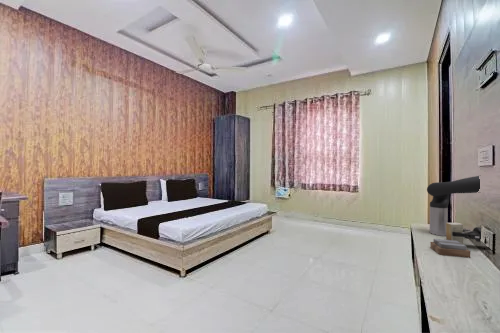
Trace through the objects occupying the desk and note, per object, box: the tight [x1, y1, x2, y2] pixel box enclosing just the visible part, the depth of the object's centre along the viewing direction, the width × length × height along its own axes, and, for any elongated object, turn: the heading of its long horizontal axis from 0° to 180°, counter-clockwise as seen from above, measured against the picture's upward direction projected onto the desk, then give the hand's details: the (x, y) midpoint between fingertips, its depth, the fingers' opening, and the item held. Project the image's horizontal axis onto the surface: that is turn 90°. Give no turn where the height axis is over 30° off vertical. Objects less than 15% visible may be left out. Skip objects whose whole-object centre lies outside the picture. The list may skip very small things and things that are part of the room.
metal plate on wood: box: [429, 238, 471, 259], centre depth 124 cm, size 12×12×5 cm
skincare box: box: [445, 222, 465, 245], centre depth 135 cm, size 6×4×12 cm
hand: (449, 232), depth 136 cm, fingers open, 6 cm apart
